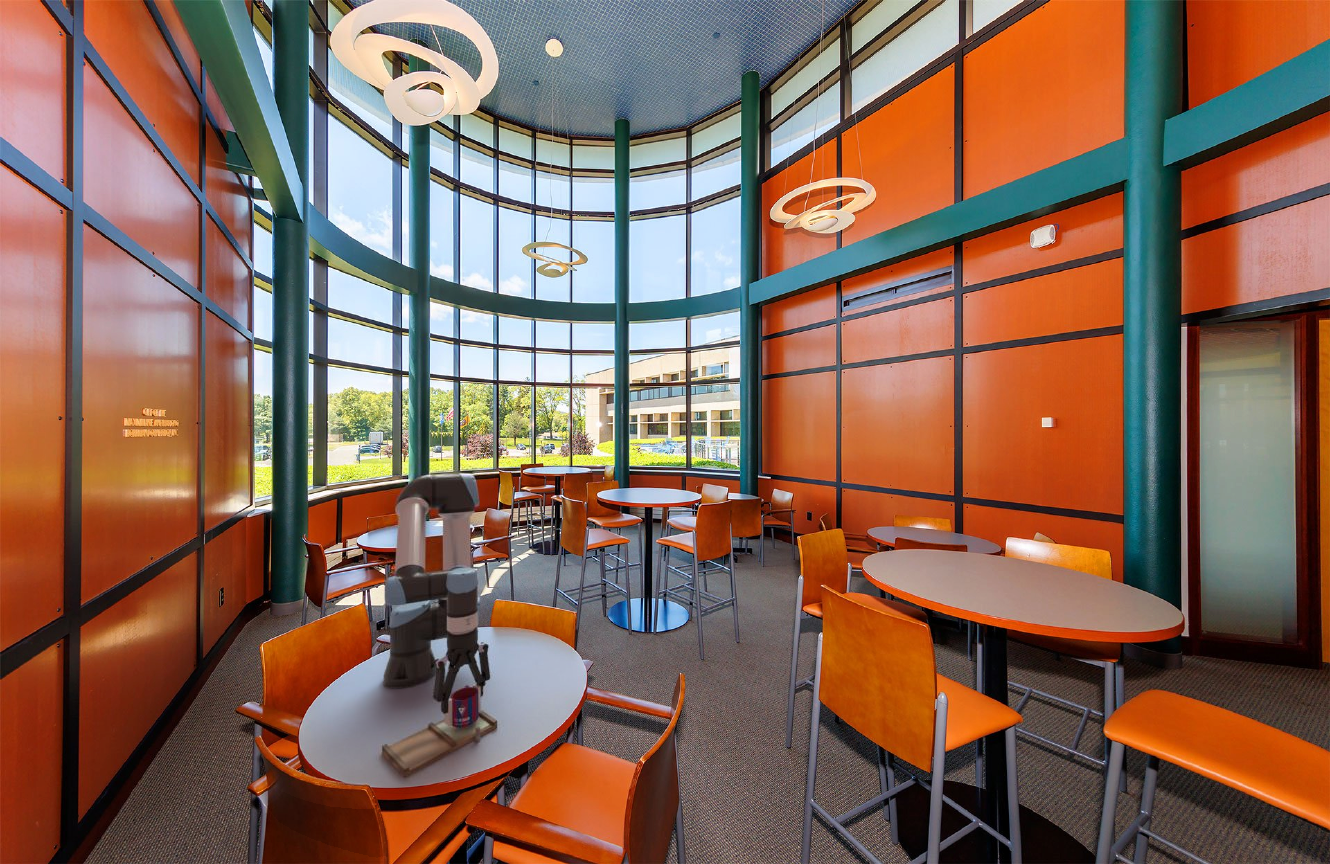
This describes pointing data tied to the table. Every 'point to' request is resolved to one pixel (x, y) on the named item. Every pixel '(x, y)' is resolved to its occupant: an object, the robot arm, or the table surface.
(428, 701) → the table surface
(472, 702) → the mug
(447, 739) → the brown divided flat frame
